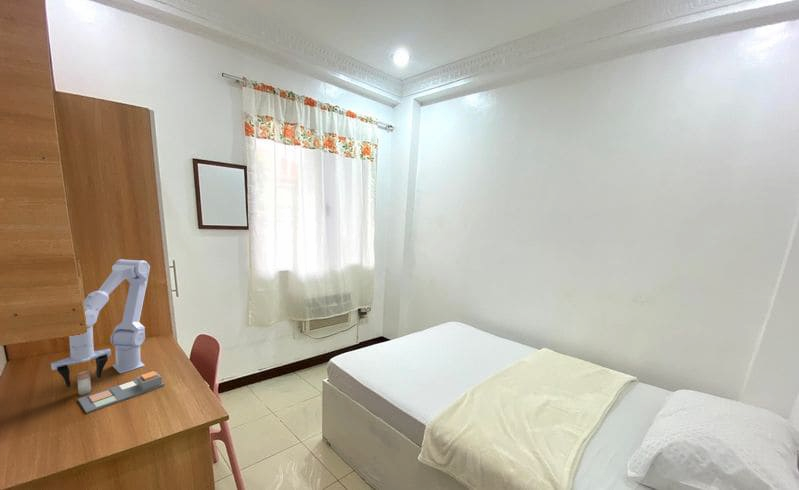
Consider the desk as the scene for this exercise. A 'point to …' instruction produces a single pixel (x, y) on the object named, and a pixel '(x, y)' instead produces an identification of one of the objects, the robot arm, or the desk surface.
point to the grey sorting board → (119, 393)
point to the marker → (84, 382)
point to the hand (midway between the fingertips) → (83, 381)
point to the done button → (148, 376)
